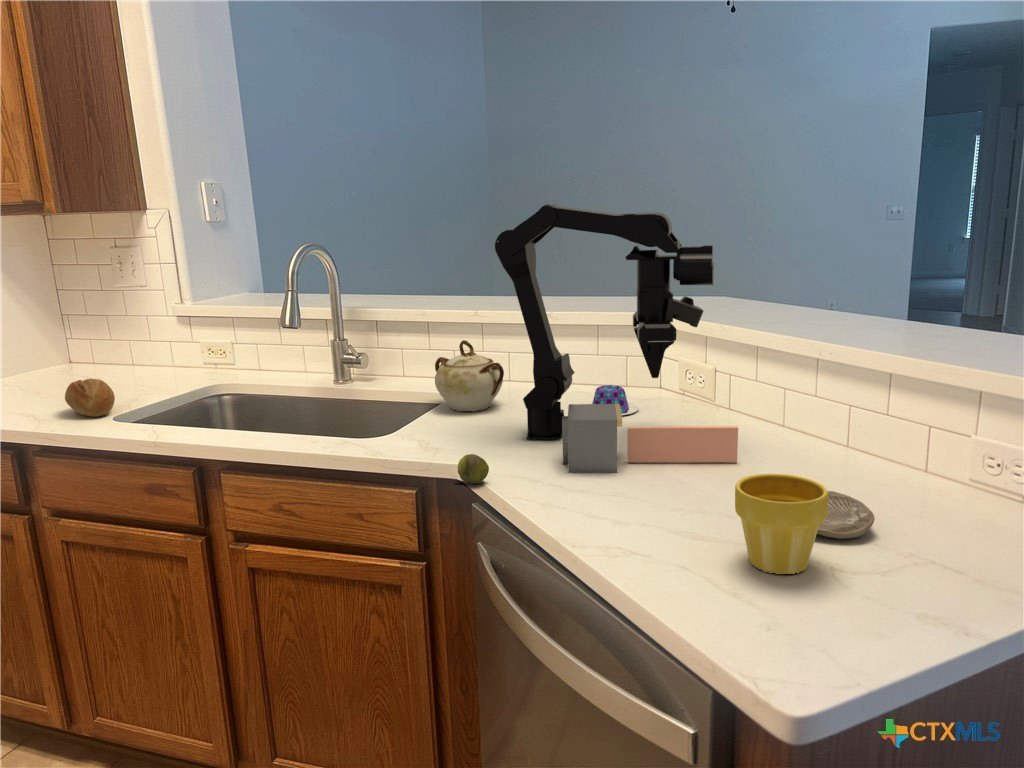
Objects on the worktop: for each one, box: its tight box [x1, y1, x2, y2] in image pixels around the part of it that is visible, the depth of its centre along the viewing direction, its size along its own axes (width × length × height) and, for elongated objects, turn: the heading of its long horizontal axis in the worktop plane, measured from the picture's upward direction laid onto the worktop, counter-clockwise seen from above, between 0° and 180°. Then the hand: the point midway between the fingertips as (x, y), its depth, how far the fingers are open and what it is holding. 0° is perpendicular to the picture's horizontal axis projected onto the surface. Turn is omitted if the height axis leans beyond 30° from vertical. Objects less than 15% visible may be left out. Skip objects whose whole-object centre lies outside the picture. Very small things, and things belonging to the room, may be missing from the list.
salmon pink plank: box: [627, 425, 739, 463], centre depth 129 cm, size 18×1×6 cm, turn 85°
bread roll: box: [64, 378, 116, 418], centre depth 176 cm, size 10×15×8 cm, turn 42°
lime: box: [457, 453, 490, 485], centre depth 123 cm, size 4×5×5 cm
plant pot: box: [734, 473, 829, 575], centre depth 92 cm, size 10×10×10 cm
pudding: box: [588, 384, 640, 416], centre depth 163 cm, size 12×12×5 cm
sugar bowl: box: [434, 340, 505, 412], centre depth 169 cm, size 20×15×15 cm
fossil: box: [816, 490, 875, 540], centre depth 103 cm, size 10×12×3 cm
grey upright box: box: [561, 403, 623, 474], centre depth 130 cm, size 10×10×9 cm
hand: (652, 372), depth 139 cm, fingers open, 9 cm apart
